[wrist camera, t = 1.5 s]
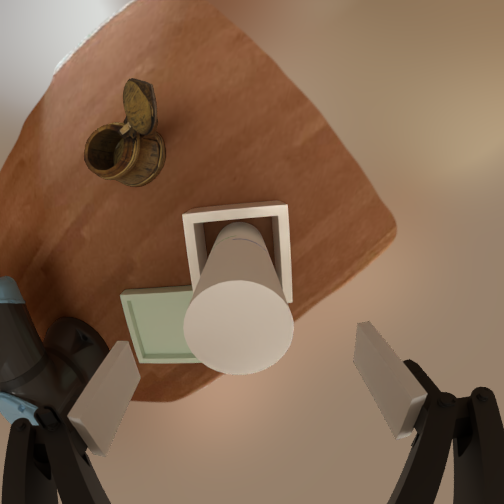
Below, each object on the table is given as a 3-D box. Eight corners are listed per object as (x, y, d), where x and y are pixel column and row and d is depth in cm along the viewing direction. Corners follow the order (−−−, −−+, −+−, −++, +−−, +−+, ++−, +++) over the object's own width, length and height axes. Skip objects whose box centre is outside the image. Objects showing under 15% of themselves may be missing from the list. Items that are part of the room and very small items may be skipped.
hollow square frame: (203, 288, 43) (196, 310, 35) (193, 208, 40) (182, 214, 32) (283, 281, 43) (292, 302, 36) (278, 200, 40) (287, 204, 33)
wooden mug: (203, 147, 38) (174, 121, 21) (129, 197, 39) (62, 211, 22) (173, 100, 36) (131, 51, 19) (103, 151, 37) (30, 141, 20)
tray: (143, 355, 46) (139, 362, 44) (125, 289, 43) (119, 295, 40) (212, 353, 46) (211, 362, 44) (201, 284, 43) (198, 290, 41)
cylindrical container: (261, 270, 43) (286, 376, 19) (214, 267, 42) (185, 370, 18) (266, 223, 41) (301, 283, 17) (216, 220, 41) (182, 276, 17)
